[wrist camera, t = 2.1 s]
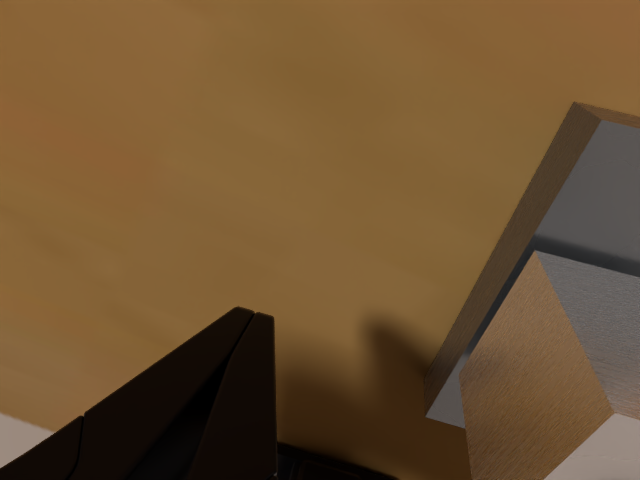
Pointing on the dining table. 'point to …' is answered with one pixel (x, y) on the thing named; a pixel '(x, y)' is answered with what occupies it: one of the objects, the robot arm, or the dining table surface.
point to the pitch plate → (553, 232)
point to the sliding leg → (557, 377)
